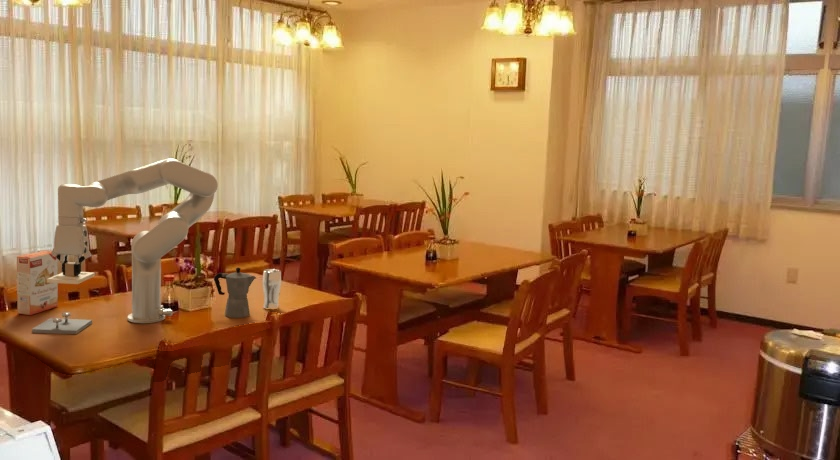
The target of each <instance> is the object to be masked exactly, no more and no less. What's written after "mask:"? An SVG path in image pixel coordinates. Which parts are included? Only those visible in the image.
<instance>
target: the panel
mask: <svg viewBox="0 0 840 460" xmlns="http://www.w3.org/2000/svg"><path fill="white" fill-rule="evenodd" d="M74 264H75V261H68V263H65V275H63V272H62V271H61V272H60V273H58V275H55V276H53V277H51V278H48V279H47V283H58V284H65V285H67V284H68V285H70V284H71V285H79V284H80V283H83V282H85V281H87V280H90V279H91V278H93V277H94V278H95V276H96V272H92V271H91V272H89V271H81V273H80V274H79V275H77V276H74Z"/></svg>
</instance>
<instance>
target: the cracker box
mask: <svg viewBox="0 0 840 460" xmlns="http://www.w3.org/2000/svg"><path fill="white" fill-rule="evenodd" d="M51 252H52V250H41V251H36V252H32V253H27V254H21V255H17V256H16V298H17V299H16V301H17V303H16V304H17V305H16V306H17V309H16V310H17V314H20V315H26V316H32V315H36V314H38V313H42V312H45V311H48V310H50V309H54V308H57V307H58V305H59V302H58V300H59V299H58V297H59V293H58V290H59V289H58V286H59V283H47V279H48V278H51V277H53V276H55V275H58V274H59V272H58V271H59V269H58V266H59V265H58V264H59V263H58V262H59V260H58V259H57V257H55V256H53V255H51Z"/></svg>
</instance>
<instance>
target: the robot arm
mask: <svg viewBox="0 0 840 460" xmlns="http://www.w3.org/2000/svg"><path fill="white" fill-rule="evenodd" d="M167 185H172V186H173V187H176V188H178V189H181V190H183V191H185V192H188V193H189V194H188V196H187V197H186V198H185V199H184V200H183V201H181V202H180V203H178V205H176V206H175V207H174V208H172V209H171V210H169V211H168V212H167V213H165V214H164V215H162V216H161V217H160V218H159V221H158V224H156V225H155V226H154V227H152V229H151V230H142V231H139V232H138V233H136V234H135V235H134V237H133V238H132V240H131V308H132V309H131V311H132V312H131V313H130V314H128V315H127V321H128V322H131V323H135V324H154V323H158V322H161V321H163V320H165V319H166V316H169V317H171V316H172V317H173V314H174V310H173V309H171V308H164V305H163V304H161V301H162V298H161V296H162V288H161V287H162V281H161V280H162V279H161V277H162V259H161V258H162V257H163V256H165V255H167V254H168V253H169V252H170V251H172V250H173V249H174V248H176V247H177V246H178V245H179V244H180V243H182V242H183V241H184V240H185V239H186V237H187V236H188V233H189V228H190V227H192V226H193V225H194V224H196V223H197V222H198V221H199V220H201V218H203V217H204V216H205V215H206V214H207V213H208V211H209V210H210V208H211V207H212V205H213V201H214V198H215V193H216V192H217V190H218V186H219V183H218V181H217V179H216V177H215V176H214V175H213V174H211V173H209V172H208V171H205V170H200V169H198V168H196V167H193V166H191V165H188V164H186V163H184V162H182V161H180V160H178V159H176V158H173V157H169V158H164V159H162V160H158V161H156V162H153V163H150V164H146V165H143V166H141V167H136V168H134V169H130V170H128V171H125V172H122V173H120V174H116V175H112V176H109V177H107V178H102V179H100V180H97V181H93V182H92V183H89V184H87V185H85V186H83V185H82V186H81V184H76V183H75V184H74V183H65V184H61V185H59V186H58V188H57V210H58V211H57V213H58V215H57V216H58V217H57V219H58V220H57V221H58V223H57V224H56V225H55V231H54V239H53V249H52V250H51V251H52V252H51V255H53V256H55V257H57V259H58V262H60V263H61V273H62V272H63V275H65V263H68V262H69V260H68V258H69V256H74V262H75V264H74V276H77V275H79V274H80V273H81V272H82V263H83V262H84V261H85V260H86V259H88V258H90V257H92V253H91V251H90V242H89V241H90V240H89V233H88V229H87V228H88V227H87V225H86V223H88V218H85V217H84V207H87V208H88V207H89V208H100V207H102V206H105V204H106V203H107V201H110V200H113V199H116V198H119V197H122V196H127V195H138V194H144V193H147V192H149V191H152V190H154V189H158V188H160V187H161V188H162V187H163V186H167Z"/></svg>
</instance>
